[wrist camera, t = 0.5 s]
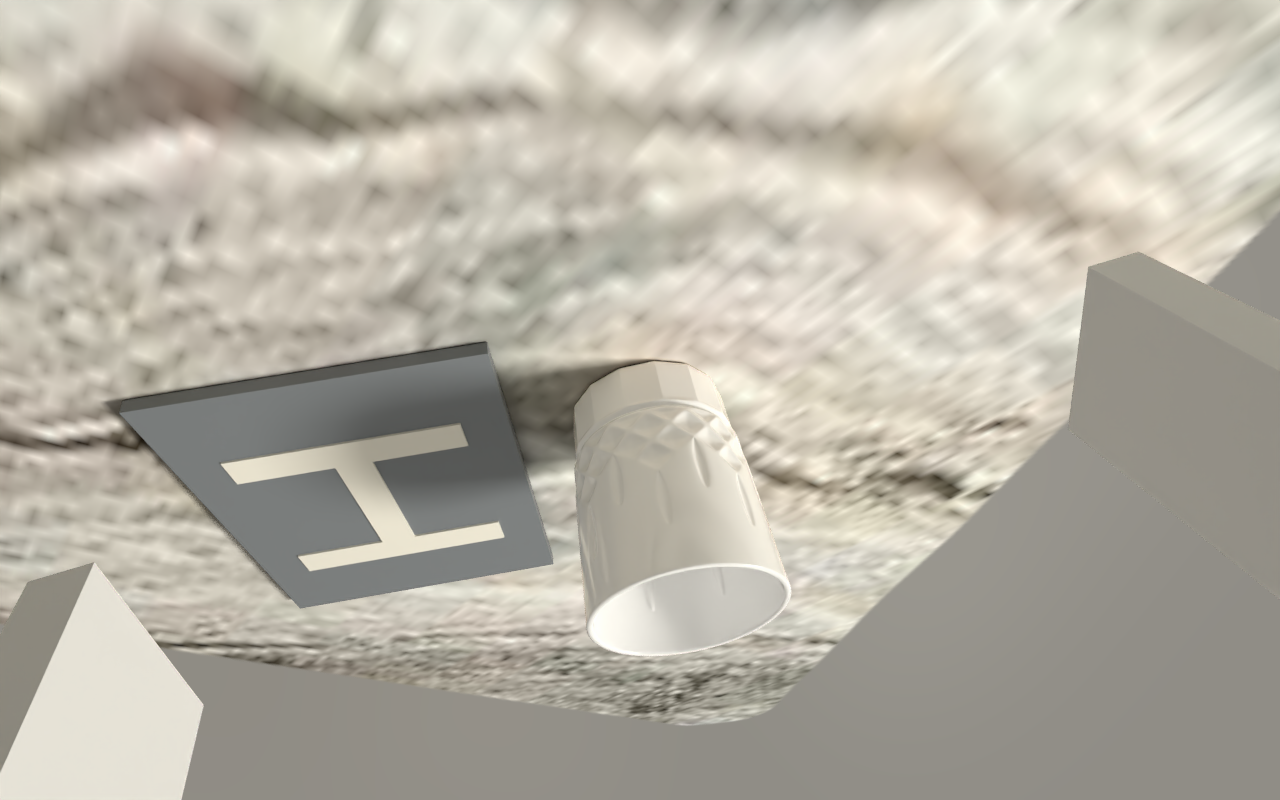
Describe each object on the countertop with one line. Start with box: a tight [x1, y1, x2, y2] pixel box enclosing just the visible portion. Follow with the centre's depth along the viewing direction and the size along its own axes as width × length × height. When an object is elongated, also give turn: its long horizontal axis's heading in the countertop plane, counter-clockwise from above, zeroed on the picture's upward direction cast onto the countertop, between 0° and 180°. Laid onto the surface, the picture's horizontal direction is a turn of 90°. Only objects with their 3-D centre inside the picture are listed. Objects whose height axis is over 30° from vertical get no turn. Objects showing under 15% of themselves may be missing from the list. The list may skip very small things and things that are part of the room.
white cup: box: [573, 361, 791, 656], centre depth 35 cm, size 8×8×10 cm
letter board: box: [119, 342, 553, 608], centre depth 39 cm, size 18×14×1 cm
